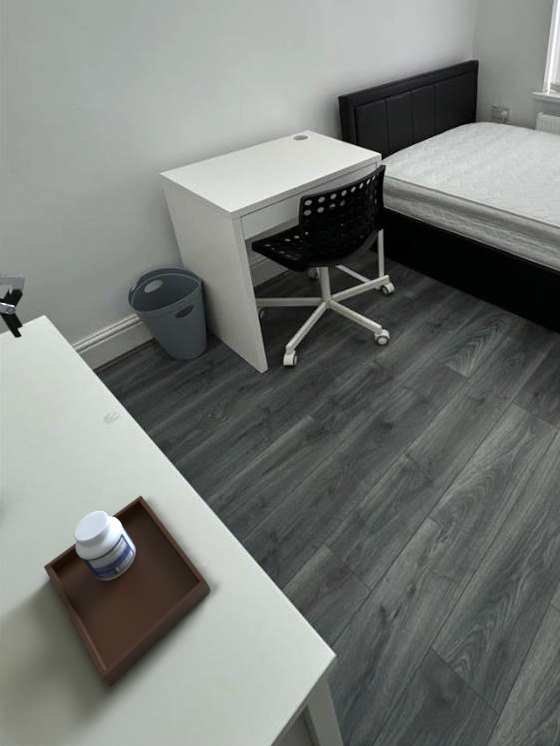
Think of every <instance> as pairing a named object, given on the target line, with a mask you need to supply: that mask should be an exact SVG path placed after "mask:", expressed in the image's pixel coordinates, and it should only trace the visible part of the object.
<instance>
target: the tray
mask: <svg viewBox="0 0 560 746" xmlns="http://www.w3.org/2000/svg"><path fill="white" fill-rule="evenodd" d="M111 517H114V518H116V519H118V520H119V521H120V523H121V524H122V526H123V527H124V529H125V531H126V532H127V534H128V535H129V537H130V538H131V540H132V541H133V543H134V545H135V548H136V555H135V558H134V561H133V563H132V564H131V566H130V567H129V568H128V569H127V570H126V571H125V572H124V573H123V574H121V575H120V576H118V577H116V578H114V579H111V580H107V581H104V580H100V579H98V578H96V577H95V576H94V574H93V573H92V572H91V571H90V569H89V568H88V567H87V566H86V564H85V563H84V562H83V560H82V559H81V558H80V557H79V555H78V554H77V552H76V542H75V543H74V544H72V545H71V546H70V547H68V548H67V549H66V550H63V552H61V553H60V554H59V555H57V556H56V557H55V558H53V559H52V560H51V561H49V562H48V563H46V564H45V565H44V566H43V569H44V570H45V572H46V575H47V576H48V577H49V579H50V581H51V584H52V585H53V587H54V590H55V591H56V593H57V595H58V597H59V599H60V601H61V603H62V604H63V607H64V609H65V611H66V613H67V614H68V616H69V618H70V620H71V621H72V624H73V626H74V628H75V630H76V631H77V633H78V635H79V637H80V639H81V641H82V643H83V646H84V647H85V649H86V650H87V653H88V655H89V657H90V658H91V661H92V662H93V664H94V666H95V668H96V670H97V672H98V674H99V675H100V677H101V679H102V680H103V681H104V682H105V683H106V684H107V685H108V686H109V687H112V685H113V684H115V683H116V682H117V681H118V680H119V679H120V678H121V677H122V676H123V675H125V674H126V672H127V671H128V670H130V668H132V667H133V666H134V665H135V664H136V663H137V662H138V661H139V660H140V659H141V658H142V657H143V656H144V655H146V653H147V652H148V651H149V650H150V649H151V648H153V646H155V644H156V643H158V642H159V641H160V640H161V639H162V638H163V637H164V636H165V635H166V634H167V633H169V631H170V630H171V629H173V627H175V625H176V624H178V623H179V622H180V621H181V620H182V619H183V618H184V617H185V616H186V615H187V614H188V613H189V612H190V611H191V610H193V608H195V606H197V605H198V603H200V601H202V600H203V599H204V598H205V597H206V596H207V595H208V594H209V593H210V592H211V591H212V589H211V588H210V586H209V583H208V581H207V580H206V579H205V577H204V576H203V574H202V573H201V572H200V570H198V569H199V568H197V567H196V565H195V564H194V563H193V561H192V560H191V559H190V557H189V556H188V555H187V553H186V552H185V550H184V549H183V548H182V547H181V546H180V544H179V543H178V542H177V541H176V539H175V538H174V537H173V535H172V534H171V532H170V531H169V530H168V528H167V527H166V526H165V525H164V523H163V522H162V521H161V520H160V518H159V516H158V515H157V514H156V513H155V511H154V510H153V509H152V508H151V506H150V505H149V504H148V502H147V500H145V498H144V497H143V496H142V495H139V496H137V498H135V499H134V500H132V501H131V502H130V503H128V504H127V505H125V506H124V507H122V508H121V509H120V510H119V511H117V512H116V513H115V514H113V515H112V516H111Z"/></svg>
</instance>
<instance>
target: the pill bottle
mask: <svg viewBox="0 0 560 746" xmlns="http://www.w3.org/2000/svg"><path fill="white" fill-rule="evenodd" d="M73 537H74V539H75V543H76V552H77V554H78V555H79V557H80V558H81V559H82V560H83V562H84V563H85V564H86V566H87V567H88V568H89V569H90V571H91V572H92V573H93V574H94V576H95V577H96V578H98V579H100V580H104V581H107V580H111V579H114V578H116V577H118V576H120V575H121V574H123V573H124V572H125V571H126V570H127V569H128V568H129V567H130V566H131V564H132V563H133V561H134V558H135V555H136V548H135V545H134V543H133V541H132V540H131V538H130V537H129V535H128V534H127V532H126V531H125V529H124V527H123V526H122V524H121V523H120V521H119V520H118V519H116V518H114V517H112V516H109V515H108V514H107V513H106V512H105V511H102V510H97V511H93V512H89V513H88V514H86V515H85V516H83V518H81V519H80V520H79V521H78V522H77V524H76V525H75V527H74V529H73Z"/></svg>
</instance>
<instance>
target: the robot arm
mask: <svg viewBox="0 0 560 746" xmlns="http://www.w3.org/2000/svg"><path fill="white" fill-rule="evenodd" d="M25 281H26V279H25V277H24V275H22V273H20V272H19V273H18V272H11V273H10V272H8V273H7V272H5V273H0V286H3V285H4V286H6V285H7V286H9V288H8V290H7V291H6V293H5V295H4V296H0V317H1V318H2V321H4V324H5V325H6V327H7V329H8V330H9V332H10V333H11V335H12V336H14V338H15V339H19V338H21V337H22V334H21V332H20V331H19V329H21V328H23V327H24V326H23V323H22V322H21V320H20V319H19V316H18V315H17V313H16V311H17V308H16V307H18V304H19V302H20V301H21V299H22V297H23V296H24V293H23V291H24V287H25Z"/></svg>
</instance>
